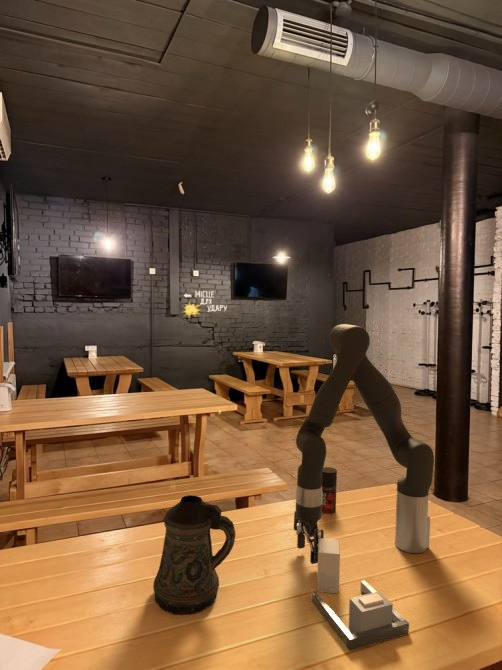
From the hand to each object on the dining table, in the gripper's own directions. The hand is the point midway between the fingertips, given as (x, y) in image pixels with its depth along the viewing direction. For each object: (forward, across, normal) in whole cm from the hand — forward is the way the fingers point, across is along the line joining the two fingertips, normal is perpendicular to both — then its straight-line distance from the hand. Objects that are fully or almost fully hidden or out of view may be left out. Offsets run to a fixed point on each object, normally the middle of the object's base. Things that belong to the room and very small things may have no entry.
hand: (307, 555), depth 132 cm
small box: (+2, -12, 0) cm, 12 cm away
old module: (+1, -30, -1) cm, 31 cm away
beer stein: (+2, -4, +35) cm, 35 cm away
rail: (+2, -25, 0) cm, 25 cm away
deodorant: (+2, +27, -22) cm, 35 cm away
